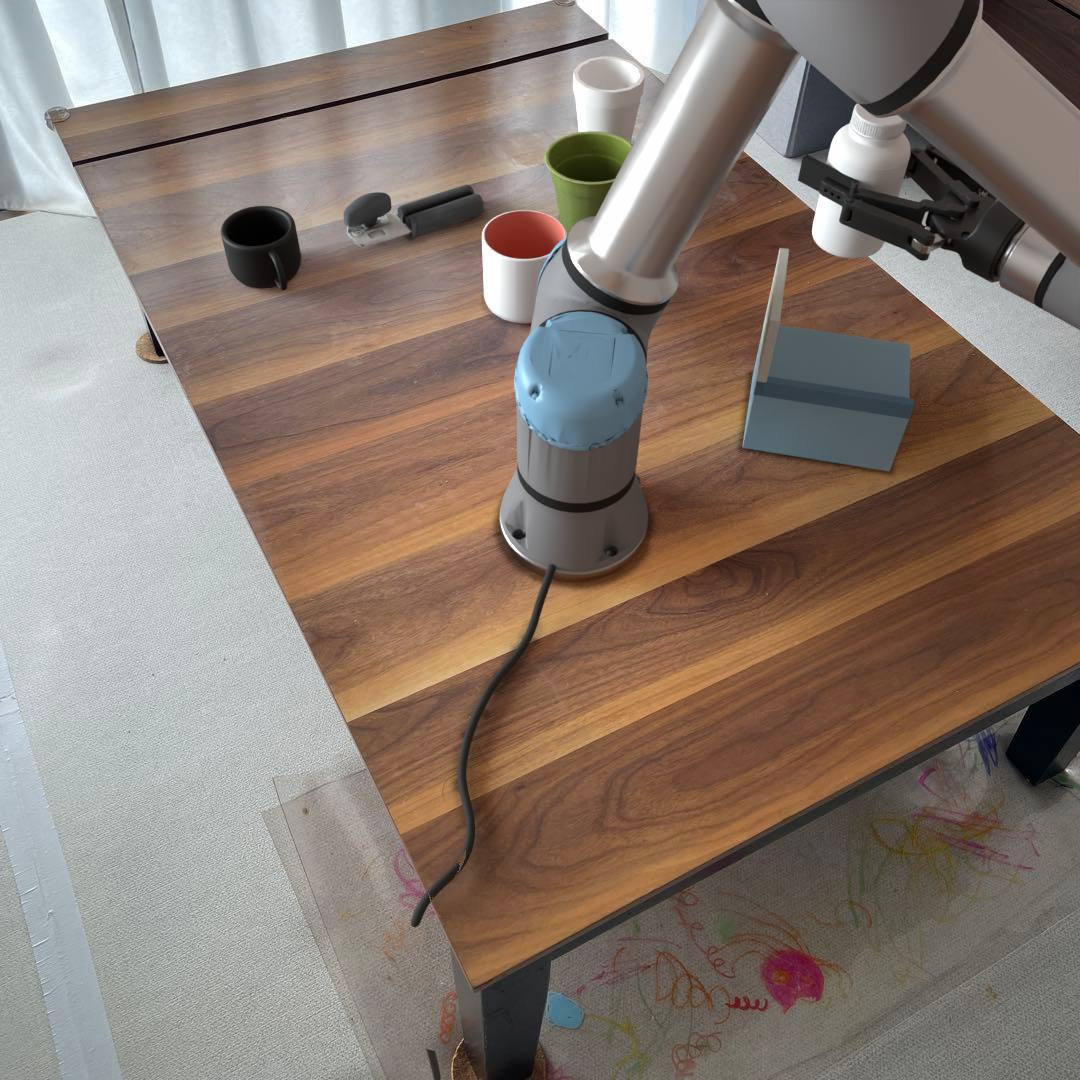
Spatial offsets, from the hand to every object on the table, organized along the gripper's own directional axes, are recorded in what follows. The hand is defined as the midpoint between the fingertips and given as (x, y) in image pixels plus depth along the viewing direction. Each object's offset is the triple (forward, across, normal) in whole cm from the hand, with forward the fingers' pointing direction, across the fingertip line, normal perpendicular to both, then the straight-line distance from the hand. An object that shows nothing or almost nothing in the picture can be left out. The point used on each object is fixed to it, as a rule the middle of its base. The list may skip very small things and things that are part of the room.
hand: (828, 152), depth 117 cm
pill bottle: (-5, 0, -8) cm, 10 cm away
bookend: (-12, -10, -24) cm, 29 cm away
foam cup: (+41, +9, -24) cm, 48 cm away
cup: (+25, -20, -24) cm, 40 cm away
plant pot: (+30, -4, -24) cm, 39 cm away
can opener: (+46, -20, -24) cm, 56 cm away
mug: (+50, -41, -24) cm, 69 cm away
